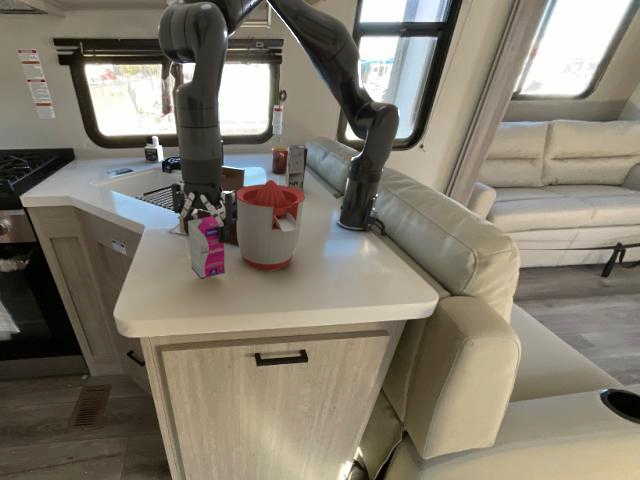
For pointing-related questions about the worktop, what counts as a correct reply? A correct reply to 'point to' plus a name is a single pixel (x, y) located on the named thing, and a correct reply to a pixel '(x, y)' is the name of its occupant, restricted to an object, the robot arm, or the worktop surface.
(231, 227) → the chest
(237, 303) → the worktop surface
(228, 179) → the lid
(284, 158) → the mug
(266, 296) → the worktop surface
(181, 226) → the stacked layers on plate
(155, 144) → the medicine bottle
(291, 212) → the citrus juicer
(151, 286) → the worktop surface
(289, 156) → the coffee box
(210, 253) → the supplement box
